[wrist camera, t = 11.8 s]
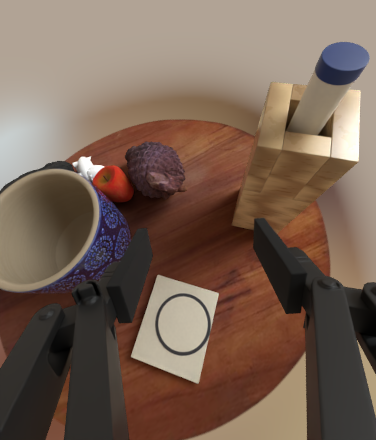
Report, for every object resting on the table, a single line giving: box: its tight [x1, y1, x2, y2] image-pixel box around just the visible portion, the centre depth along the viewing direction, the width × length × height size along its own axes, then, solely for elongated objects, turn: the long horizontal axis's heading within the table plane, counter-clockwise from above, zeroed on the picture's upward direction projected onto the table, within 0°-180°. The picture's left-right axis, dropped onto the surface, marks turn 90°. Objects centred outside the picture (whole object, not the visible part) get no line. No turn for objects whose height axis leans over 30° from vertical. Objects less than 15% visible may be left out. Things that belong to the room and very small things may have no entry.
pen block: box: [232, 82, 360, 234], centre depth 28 cm, size 8×8×22 cm
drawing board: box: [131, 275, 219, 384], centre depth 33 cm, size 11×13×1 cm
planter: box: [0, 169, 131, 294], centre depth 32 cm, size 17×17×15 cm
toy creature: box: [73, 157, 104, 183], centre depth 43 cm, size 5×8×6 cm
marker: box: [286, 42, 369, 136], centre depth 19 cm, size 3×3×13 cm
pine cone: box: [125, 142, 187, 199], centre depth 39 cm, size 18×10×10 cm
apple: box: [92, 165, 134, 202], centre depth 39 cm, size 6×6×8 cm
